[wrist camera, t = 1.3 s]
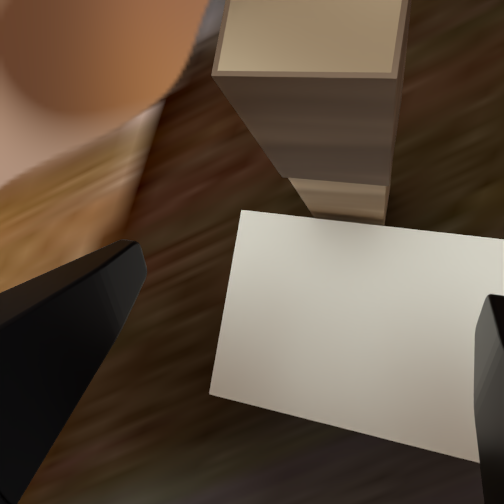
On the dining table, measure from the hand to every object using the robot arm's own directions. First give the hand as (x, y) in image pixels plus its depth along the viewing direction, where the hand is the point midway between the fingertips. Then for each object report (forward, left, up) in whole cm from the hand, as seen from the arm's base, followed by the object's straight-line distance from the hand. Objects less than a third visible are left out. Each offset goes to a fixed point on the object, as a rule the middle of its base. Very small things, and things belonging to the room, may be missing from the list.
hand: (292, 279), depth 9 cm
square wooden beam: (+1, -3, -13) cm, 13 cm away
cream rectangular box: (-1, -3, -13) cm, 13 cm away
